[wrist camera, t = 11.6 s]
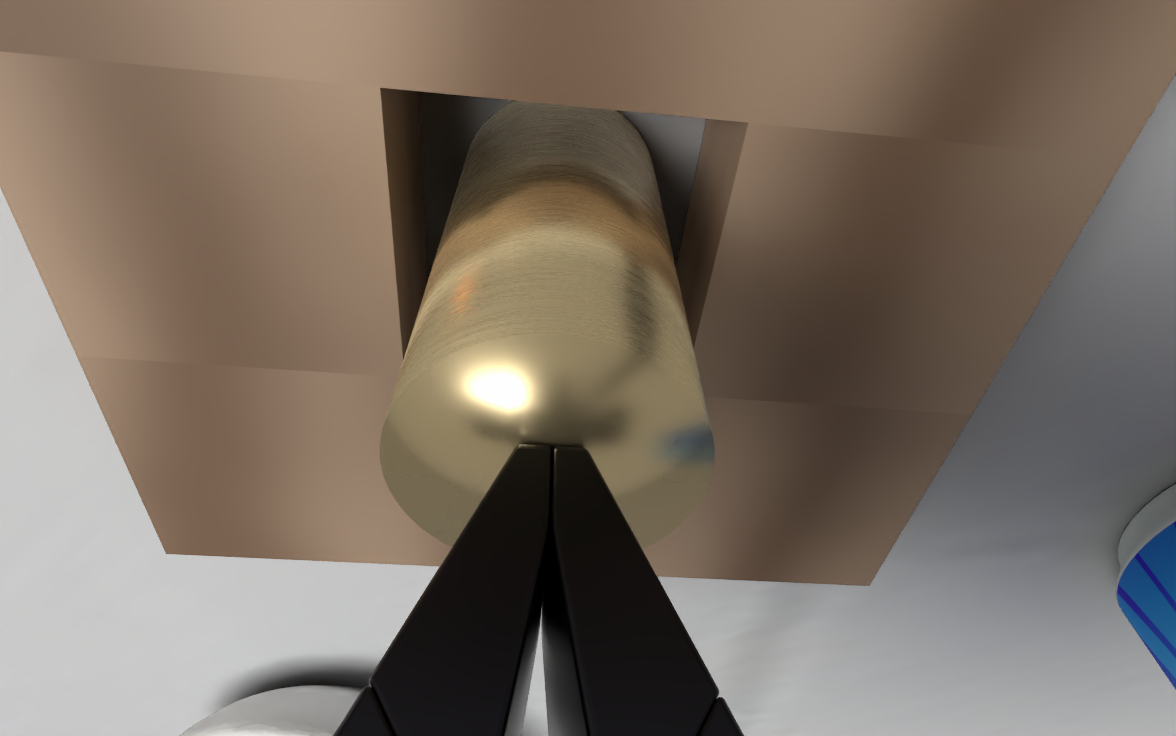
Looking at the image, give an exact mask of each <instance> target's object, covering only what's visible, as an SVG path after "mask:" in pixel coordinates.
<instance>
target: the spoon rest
mask: <svg viewBox="0 0 1176 736" xmlns="http://www.w3.org/2000/svg"><path fill="white" fill-rule="evenodd" d="M361 690H362V689H360V688H354V687H345V686H319V685H311V686H295V687H288V688H281V689H275V690H270V691H266V692H263V693H260V694H256V695H253V696H249V697H247V698H244V699H241V700H239V701H236V702H234V703H232V704H230V705H228V706H226V707H224V708H222V709H220V710H218V711H216V712H215V713H213V714H211V715H210V716H208V717H206V718H205V719H203V720H201V721H200V722H198V723H196V724H195V725H193V726H192V727H190V728H189V729H187V730H186V731H185V732H183V733H182V734H181V735H180V736H332V735H333V734H334V732H335V731H336V729H337V728H338V726H339V725H340V723H341V722H342V720H343V719H344V717H345V716H346V714H347V712H348V711H349V709H350V708H351V706H352V705H353V703H354V701H355V700H356V698H357V697H358V695H359V693H360V692H361Z"/></svg>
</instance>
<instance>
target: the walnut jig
mask: <svg viewBox="0 0 1176 736" xmlns="http://www.w3.org/2000/svg"><path fill="white" fill-rule="evenodd" d="M1175 74H1176V0H0V187H1V190H2V192H3V194H4V196H5V199H6V201H7V203H8V205H9V207H10V210H11V212H12V214H13V216H14V218H15V221H16V223H17V225H18V227H19V229H20V232H21V234H22V236H23V238H24V241H25V243H26V245H27V247H28V249H29V252H30V254H31V256H32V258H33V260H34V263H35V265H36V267H37V269H38V271H39V274H40V276H41V278H42V280H43V283H44V285H45V287H46V289H47V291H48V294H49V296H50V298H51V300H52V302H53V305H54V307H55V309H56V311H57V313H58V316H59V318H60V320H61V322H62V325H63V327H64V329H65V331H66V333H67V336H68V338H69V340H70V342H71V344H72V347H73V349H74V351H75V353H76V355H77V358H78V360H79V362H80V364H81V367H82V369H83V371H84V373H85V375H86V378H87V380H88V382H89V384H90V386H91V389H92V391H93V393H94V395H95V397H96V400H97V402H98V404H99V406H100V409H101V411H102V413H103V415H104V417H105V420H106V422H107V424H108V426H109V428H110V431H111V433H112V435H113V437H114V439H115V442H116V444H117V446H118V448H119V451H120V453H121V455H122V457H123V459H124V462H125V464H126V466H127V468H128V470H129V473H130V475H131V477H132V479H133V481H134V484H135V486H136V488H137V490H138V493H139V495H140V497H141V499H142V501H143V504H144V506H145V508H146V510H147V512H148V515H149V517H150V519H151V521H152V523H153V526H154V528H155V530H156V532H157V535H158V537H159V539H160V541H161V543H162V546H163V548H164V550H165V552H166V554H181V555H203V556H225V557H247V558H269V559H291V560H313V561H335V562H356V563H378V564H400V565H422V566H441V564H442V563H443V561H444V559H445V558H446V556H447V555H448V553H449V551H450V550H451V548H452V547H450V546H448V545H447V544H445V543H443V542H441V541H440V540H438V539H436V538H434V537H433V536H432V535H430V534H429V533H427V532H426V531H425V530H423V529H422V528H421V527H419V526H418V525H417V524H416V523H415V522H414V521H413V520H412V519H411V518H410V517H409V516H408V515H407V514H406V513H405V512H404V511H403V509H402V508H401V507H400V506H399V505H398V503H397V502H396V500H395V499H394V497H393V495H392V494H391V492H390V490H389V488H388V486H387V483H386V481H385V479H384V476H383V472H382V468H381V463H380V447H379V444H380V438H381V432H382V428H383V424H384V421H385V418H386V415H387V411H388V408H389V405H390V402H391V399H392V395H393V392H394V389H395V386H396V382H397V379H398V376H399V373H400V370H401V366H402V363H403V360H404V357H405V353H406V350H407V347H408V344H409V340H410V337H411V334H412V331H413V328H414V324H415V321H416V318H417V315H418V311H419V308H420V305H421V302H422V299H423V295H424V292H425V289H426V286H427V282H428V266H427V246H426V227H425V207H424V188H423V168H422V148H421V129H420V109H419V91H421V92H431V93H442V94H452V95H463V96H473V97H484V98H494V99H505V100H515V101H526V102H536V103H547V104H557V105H568V106H578V107H589V108H599V109H610V110H620V111H631V112H641V113H652V114H662V115H673V116H683V117H694V118H704V119H707V120H706V125H705V130H704V135H703V140H702V144H701V149H700V154H699V159H698V164H697V169H696V174H695V179H694V184H693V188H692V193H691V198H690V203H689V208H688V213H687V218H686V223H685V228H684V232H683V237H682V242H681V247H680V252H679V257H678V262H677V267H676V272H677V276H678V281H679V285H680V290H681V294H682V299H683V303H684V308H685V312H686V317H687V321H688V326H689V330H690V335H691V339H692V344H693V348H694V353H695V358H696V362H697V367H698V371H699V376H700V380H701V385H702V389H703V394H704V398H705V403H706V407H707V412H708V416H709V421H710V425H711V430H712V435H713V441H714V447H715V465H714V469H713V474H712V479H711V481H710V484H709V486H708V489H707V491H706V494H705V495H704V497H703V499H702V500H701V502H700V503H699V505H698V507H697V508H696V509H695V510H694V511H693V513H692V514H691V515H690V516H689V517H688V519H687V520H685V521H684V522H683V523H682V524H681V525H680V526H679V527H678V528H677V529H676V530H674V531H673V532H672V533H670V534H669V535H667V536H666V537H665V538H663V539H662V540H660V541H658V542H656V543H655V544H653V545H651V546H649V547H648V548H646V549H643V552H644V554H645V555H646V557H647V559H648V561H649V563H650V565H651V566H652V568H653V570H654V572H655V574H656V576H663V577H685V578H707V579H729V580H751V581H773V582H795V583H816V584H838V585H860V586H869V585H870V584H871V582H872V580H873V579H874V577H875V575H876V574H877V572H878V570H879V569H880V567H881V565H882V564H883V562H884V560H885V559H886V557H887V555H888V554H889V552H890V550H891V549H892V547H893V545H894V544H895V542H896V540H897V539H898V537H899V535H900V534H901V532H902V530H903V529H904V527H905V525H906V524H907V522H908V520H909V519H910V517H911V515H912V514H913V512H914V510H915V509H916V507H917V505H918V503H919V502H920V500H921V498H922V497H923V495H924V493H925V492H926V490H927V488H928V487H929V485H930V483H931V482H932V480H933V478H934V477H935V475H936V473H937V472H938V470H939V468H940V467H941V465H942V463H943V462H944V460H945V458H946V457H947V455H948V453H949V452H950V450H951V448H952V447H953V445H954V443H955V442H956V440H957V438H958V437H959V435H960V433H961V432H962V430H963V428H964V427H965V425H966V423H967V422H968V420H969V418H970V417H971V415H972V413H973V412H974V410H975V408H976V407H977V405H978V403H979V402H980V400H981V398H982V396H983V395H984V393H985V391H986V390H987V388H988V386H989V385H990V383H991V381H992V380H993V378H994V376H995V375H996V373H997V371H998V370H999V368H1000V366H1001V365H1002V363H1003V361H1004V360H1005V358H1006V356H1007V355H1008V353H1009V351H1010V350H1011V348H1012V346H1013V345H1014V343H1015V341H1016V340H1017V338H1018V336H1019V335H1020V333H1021V331H1022V330H1023V328H1024V326H1025V325H1026V323H1027V321H1028V320H1029V318H1030V316H1031V315H1032V313H1033V311H1034V310H1035V308H1036V306H1037V305H1038V303H1039V301H1040V300H1041V298H1042V296H1043V295H1044V293H1045V291H1046V290H1047V288H1048V286H1049V284H1050V283H1051V281H1052V279H1053V278H1054V276H1055V274H1056V273H1057V271H1058V269H1059V268H1060V266H1061V264H1062V263H1063V261H1064V259H1065V258H1066V256H1067V254H1068V253H1069V251H1070V249H1071V248H1072V246H1073V244H1074V243H1075V241H1076V239H1077V238H1078V236H1079V234H1080V233H1081V231H1082V229H1083V228H1084V226H1085V224H1086V223H1087V221H1088V219H1089V218H1090V216H1091V214H1092V213H1093V211H1094V209H1095V208H1096V206H1097V204H1098V203H1099V201H1100V199H1101V198H1102V196H1103V194H1104V193H1105V191H1106V189H1107V188H1108V186H1109V184H1110V183H1111V181H1112V179H1113V177H1114V176H1115V174H1116V172H1117V171H1118V169H1119V167H1120V166H1121V164H1122V162H1123V161H1124V159H1125V157H1126V156H1127V154H1128V152H1129V151H1130V149H1131V147H1132V146H1133V144H1134V142H1135V141H1136V139H1137V137H1138V136H1139V134H1140V132H1141V131H1142V129H1143V127H1144V126H1145V124H1146V122H1147V121H1148V119H1149V117H1150V116H1151V114H1152V112H1153V111H1154V109H1155V107H1156V106H1157V104H1158V102H1159V101H1160V99H1161V97H1162V96H1163V94H1164V92H1165V91H1166V89H1167V87H1168V86H1169V84H1170V82H1171V81H1172V79H1173V77H1174V76H1175Z"/></svg>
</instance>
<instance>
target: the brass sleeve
mask: <svg viewBox="0 0 1176 736" xmlns="http://www.w3.org/2000/svg"><path fill="white" fill-rule="evenodd" d="M519 444H534V445H547V446H549V447H550V448H551V451H552V450H553V449H554V447H556V446H568V447H583V448H585V449H587V450H588V451H589V453H590V454H591V456H592V458H593V460H594V462H595V464H596V465H597V467H598V469H599V471H600V473H601V475H602V476H603V478H604V480H605V482H606V484H607V486H608V487H609V489H610V491H611V493H612V495H613V497H614V498H615V500H616V502H617V504H618V506H619V508H620V509H621V511H622V513H623V515H624V517H625V519H626V521H627V522H628V524H629V526H630V528H631V530H632V532H633V533H634V535H635V537H636V539H637V541H638V543H639V544H640V546H641V548H642V550H643V549H646V548H648V547H649V546H651V545H653V544H655V543H656V542H658V541H660V540H662V539H663V538H665V537H666V536H667V535H669V534H670V533H672V532H673V531H674V530H676V529H677V528H678V527H679V526H680V525H681V524H682V523H683V522H684V521H685V520H687V519H688V517H689V516H690V515H691V514H692V513H693V511H694V510H695V509H696V508H697V507H698V505H699V503H700V502H701V500H702V499H703V497H704V495H705V494H706V491H707V489H708V486H709V484H710V481H711V479H712V474H713V469H714V465H715V447H714V441H713V435H712V430H711V425H710V421H709V416H708V412H707V407H706V403H705V398H704V394H703V389H702V385H701V380H700V376H699V371H698V367H697V362H696V358H695V353H694V348H693V344H692V339H691V335H690V330H689V326H688V321H687V317H686V312H685V308H684V303H683V299H682V294H681V290H680V285H679V281H678V276H677V272H676V267H675V262H674V258H673V253H672V249H671V244H670V240H669V235H668V231H667V226H666V222H665V217H664V213H663V208H662V204H661V199H660V195H659V190H658V186H657V181H656V177H655V172H654V167H653V163H652V159H651V156H650V153H649V150H648V148H647V146H646V144H645V142H644V140H643V138H642V137H641V135H640V134H639V132H638V131H637V129H636V128H635V127H634V126H633V124H632V123H631V122H630V121H629V120H628V119H627V118H626V117H625V116H624V115H622V114H621V113H620V112H619V111H618V110H610V109H599V108H589V107H578V106H568V105H557V104H547V103H536V102H526V101H515V100H514V101H512V102H510V103H509V104H507V105H505V106H503V107H502V108H501V109H499V110H498V111H497V112H495V113H494V114H493V115H492V116H491V117H490V118H489V119H488V120H487V121H486V122H485V123H484V124H483V126H482V127H481V128H480V130H479V131H478V132H477V134H476V136H475V138H474V139H473V141H472V143H471V145H470V148H469V151H468V154H467V157H466V160H465V163H464V166H463V169H462V173H461V176H460V179H459V182H458V186H457V189H456V192H455V195H454V198H453V202H452V205H451V208H450V211H449V215H448V218H447V221H446V224H445V228H444V231H443V234H442V237H441V240H440V244H439V247H438V250H437V253H436V257H435V260H434V263H433V266H432V269H431V273H430V276H429V279H428V282H427V286H426V289H425V292H424V295H423V299H422V302H421V305H420V308H419V311H418V315H417V318H416V321H415V324H414V328H413V331H412V334H411V337H410V340H409V344H408V347H407V350H406V353H405V357H404V360H403V363H402V366H401V370H400V373H399V376H398V379H397V382H396V386H395V389H394V392H393V395H392V399H391V402H390V405H389V408H388V411H387V415H386V418H385V421H384V424H383V428H382V432H381V438H380V444H379V447H380V463H381V468H382V472H383V476H384V479H385V481H386V483H387V486H388V488H389V490H390V492H391V494H392V495H393V497H394V499H395V500H396V502H397V503H398V505H399V506H400V507H401V508H402V509H403V511H404V512H405V513H406V514H407V515H408V516H409V517H410V518H411V519H412V520H413V521H414V522H415V523H416V524H417V525H418V526H419V527H421V528H422V529H423V530H425V531H426V532H427V533H429V534H430V535H432V536H433V537H434V538H436V539H438V540H440V541H441V542H443V543H445V544H447V545H448V546H450V547H453V545H454V543H455V542H456V540H457V539H458V537H459V536H460V534H461V532H462V531H463V529H464V528H465V526H466V524H467V523H468V521H469V520H470V518H471V517H472V515H473V513H474V512H475V510H476V509H477V507H478V505H479V504H480V502H481V501H482V499H483V497H484V496H485V494H486V493H487V491H488V490H489V488H490V486H491V485H492V483H493V482H494V480H495V478H496V477H497V475H498V474H499V472H500V471H501V469H502V467H503V466H504V464H505V463H506V461H507V459H508V458H509V456H510V455H511V453H512V451H513V450H514V448H515V447H516V446H517V445H519Z"/></svg>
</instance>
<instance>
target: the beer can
mask: <svg viewBox="0 0 1176 736" xmlns="http://www.w3.org/2000/svg"><path fill="white" fill-rule="evenodd" d="M1118 560H1119V564H1120V572H1119V575H1118V578H1117V583H1116V598H1117V601H1118V604H1119V606H1120V608H1121V610H1122V612H1123V613H1124V614H1125V616H1126V617H1127V619H1128V620H1129V622H1130V623H1131V625H1132V626H1133V628H1134V629H1135V631H1136V632H1137V634H1138V635H1139V636H1140V638H1141V639H1142V641H1143V642H1144V644H1145V645H1146V647H1147V648H1148V650H1149V651H1150V653H1151V654H1152V655H1153V657H1154V658H1155V660H1156V661H1157V663H1158V664H1159V666H1160V667H1161V669H1162V670H1163V672H1164V673H1165V674H1166V676H1167V677H1168V679H1169V680H1170V682H1171V683H1172V685H1173V686H1174V688H1175V689H1176V484H1174V485H1173V486H1171V487H1170V488H1168V489H1166V490H1165V491H1164V492H1162V493H1161V494H1159V495H1158V496H1157V497H1155V498H1154V499H1153V500H1152V501H1150V502H1149V503H1148V504H1147V505H1146V506H1145V507H1143V508H1142V509H1141V510H1140V511H1139V512H1138V513H1137V514H1136V516H1135V517H1134V518H1133V519H1132V520H1131V521H1130V523H1129V524H1128V525H1127V527H1126V529H1125V530H1124V532H1123V534H1122V536H1121V538H1120V542H1119V545H1118Z"/></svg>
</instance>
